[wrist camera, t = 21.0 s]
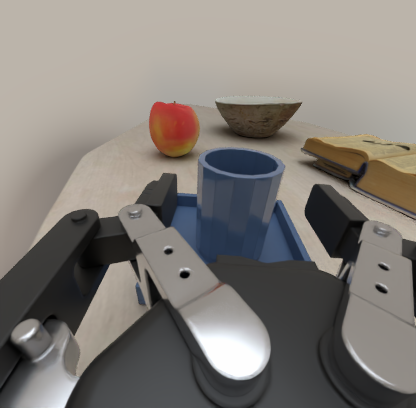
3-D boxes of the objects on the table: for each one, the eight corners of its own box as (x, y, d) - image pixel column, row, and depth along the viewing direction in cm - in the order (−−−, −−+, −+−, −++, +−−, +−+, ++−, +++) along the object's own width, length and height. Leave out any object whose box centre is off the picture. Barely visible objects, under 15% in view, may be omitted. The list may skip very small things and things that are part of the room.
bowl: (196, 132, 60) (197, 93, 55) (237, 122, 77) (240, 92, 71) (274, 151, 49) (284, 104, 43) (301, 134, 65) (311, 99, 60)
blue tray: (138, 304, 15) (134, 286, 14) (173, 206, 26) (173, 192, 25) (321, 318, 15) (332, 301, 14) (277, 213, 26) (281, 200, 25)
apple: (178, 167, 37) (177, 106, 32) (140, 155, 41) (134, 99, 36) (206, 153, 44) (209, 102, 39) (172, 145, 48) (170, 97, 43)
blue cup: (192, 266, 17) (194, 174, 13) (199, 221, 23) (202, 145, 18) (268, 272, 17) (296, 181, 13) (256, 225, 23) (274, 150, 18)
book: (507, 211, 30) (545, 173, 26) (452, 237, 24) (493, 192, 20) (347, 155, 49) (358, 129, 46) (294, 162, 43) (303, 132, 40)
